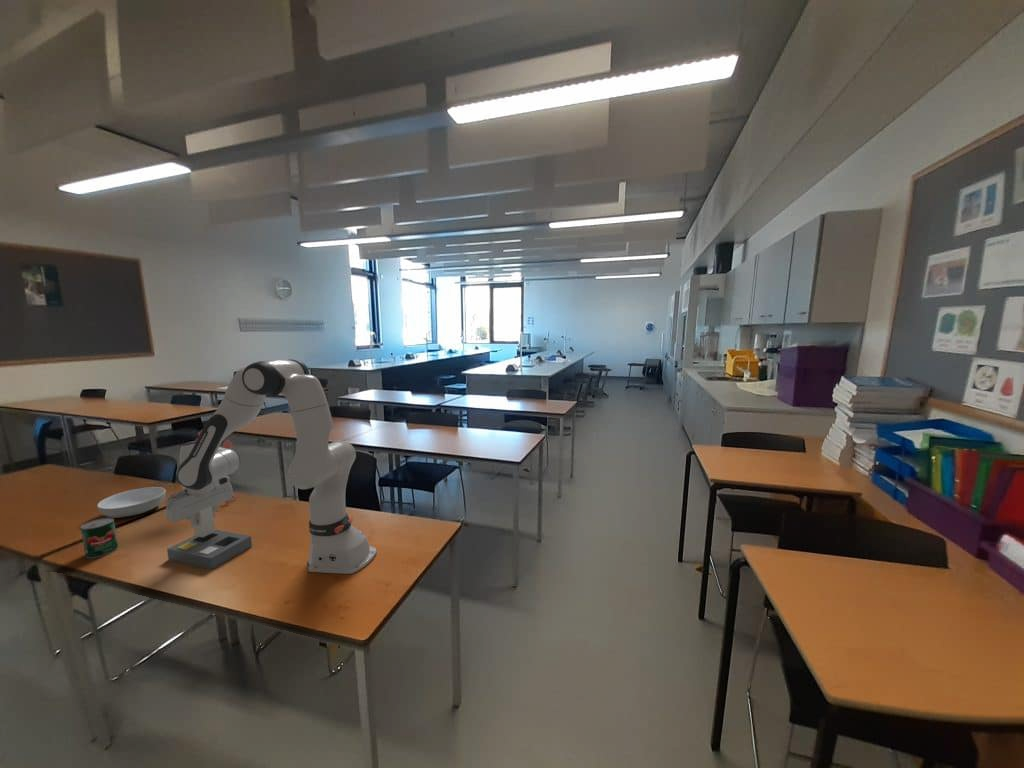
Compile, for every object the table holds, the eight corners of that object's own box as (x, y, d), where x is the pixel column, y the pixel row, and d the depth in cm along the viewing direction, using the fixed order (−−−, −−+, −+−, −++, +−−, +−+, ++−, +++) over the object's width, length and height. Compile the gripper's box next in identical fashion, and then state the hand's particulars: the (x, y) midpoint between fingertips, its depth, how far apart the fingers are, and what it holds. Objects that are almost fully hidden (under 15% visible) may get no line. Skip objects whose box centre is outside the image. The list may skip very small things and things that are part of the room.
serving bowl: (83, 523, 152) (81, 507, 151) (136, 500, 173) (134, 486, 172) (133, 524, 151) (130, 508, 150) (180, 501, 172) (178, 487, 171)
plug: (214, 531, 135) (211, 505, 134) (203, 537, 132) (200, 510, 130) (206, 530, 137) (203, 504, 135) (194, 535, 133) (191, 509, 131)
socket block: (252, 546, 136) (250, 535, 135) (212, 569, 122) (210, 557, 122) (211, 538, 141) (209, 527, 140) (168, 559, 128) (166, 548, 127)
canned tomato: (106, 544, 137) (102, 516, 135) (124, 546, 135) (120, 518, 134) (78, 557, 129) (73, 527, 127) (97, 559, 128) (92, 529, 126)
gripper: (172, 498, 121) (177, 538, 123) (234, 475, 140) (237, 510, 142) (158, 496, 122) (163, 535, 124) (221, 473, 142) (225, 507, 144)
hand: (203, 521), depth 133 cm, fingers closed on plug, 4 cm apart
